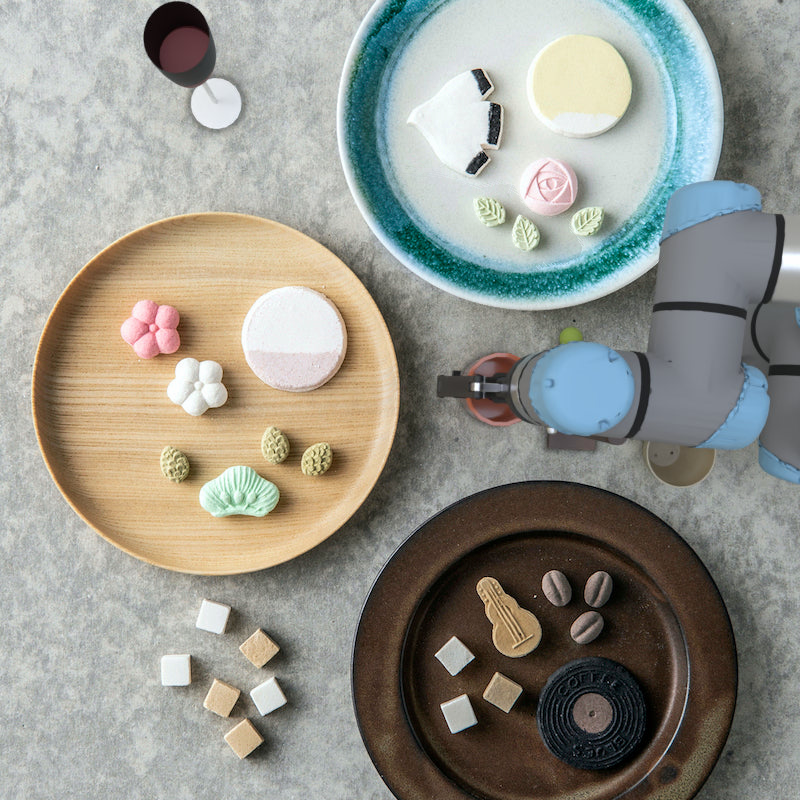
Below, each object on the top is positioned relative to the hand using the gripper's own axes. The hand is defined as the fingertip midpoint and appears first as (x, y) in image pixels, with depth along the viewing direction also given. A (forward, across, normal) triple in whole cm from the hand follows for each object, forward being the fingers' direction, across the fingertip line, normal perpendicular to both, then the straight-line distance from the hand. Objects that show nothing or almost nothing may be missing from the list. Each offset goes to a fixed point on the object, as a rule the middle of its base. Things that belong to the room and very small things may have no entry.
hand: (511, 389), depth 92 cm
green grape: (+14, +11, +8) cm, 19 cm away
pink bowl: (+16, 0, 0) cm, 16 cm away
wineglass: (+16, -43, +41) cm, 62 cm away
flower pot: (+16, +26, -8) cm, 31 cm away
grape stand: (+16, +12, -5) cm, 20 cm away
